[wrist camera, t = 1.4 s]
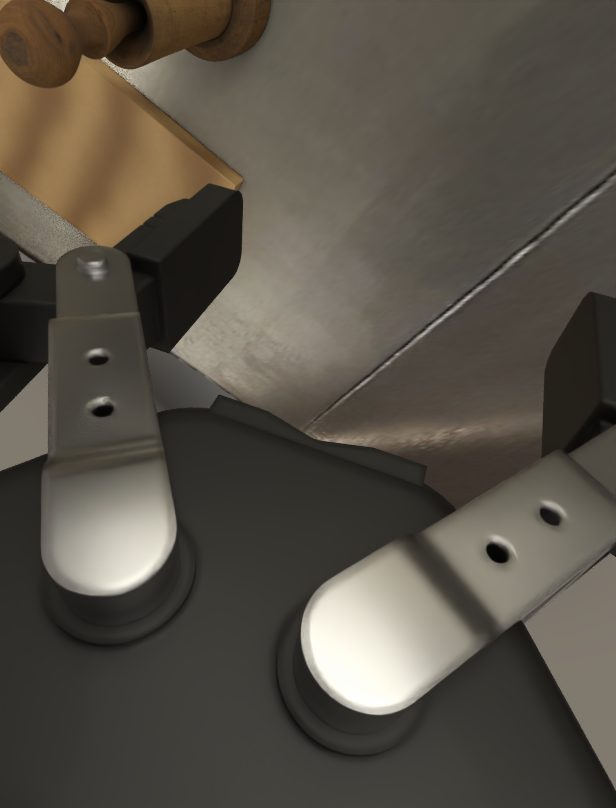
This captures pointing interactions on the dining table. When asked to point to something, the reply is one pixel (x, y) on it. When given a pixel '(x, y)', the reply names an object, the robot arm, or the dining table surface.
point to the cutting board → (100, 151)
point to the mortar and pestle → (122, 33)
